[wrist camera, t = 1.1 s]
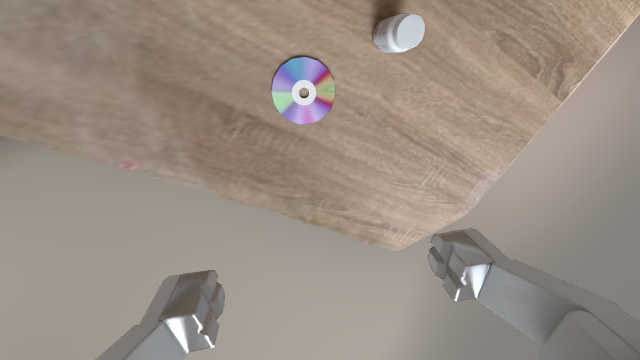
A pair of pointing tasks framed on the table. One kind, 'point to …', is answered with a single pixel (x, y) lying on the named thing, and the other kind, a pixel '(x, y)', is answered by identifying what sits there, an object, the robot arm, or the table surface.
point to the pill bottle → (398, 33)
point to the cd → (303, 76)
